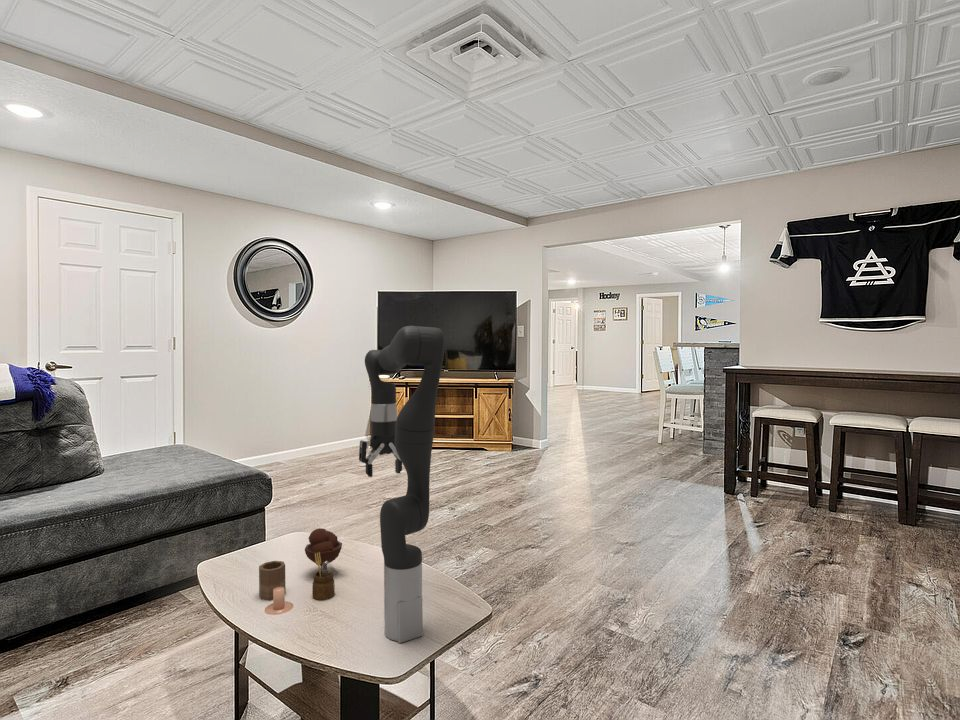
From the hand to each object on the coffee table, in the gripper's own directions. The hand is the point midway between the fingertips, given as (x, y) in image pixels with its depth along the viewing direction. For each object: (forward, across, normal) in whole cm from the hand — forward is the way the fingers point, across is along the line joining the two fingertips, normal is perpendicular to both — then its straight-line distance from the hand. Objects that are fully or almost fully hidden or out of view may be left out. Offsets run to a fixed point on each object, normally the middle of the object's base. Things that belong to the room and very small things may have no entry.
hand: (384, 474), depth 155 cm
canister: (+33, -29, +11) cm, 45 cm away
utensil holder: (+33, -17, +3) cm, 38 cm away
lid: (+33, -29, +2) cm, 44 cm away
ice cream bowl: (+33, -13, +17) cm, 40 cm away
